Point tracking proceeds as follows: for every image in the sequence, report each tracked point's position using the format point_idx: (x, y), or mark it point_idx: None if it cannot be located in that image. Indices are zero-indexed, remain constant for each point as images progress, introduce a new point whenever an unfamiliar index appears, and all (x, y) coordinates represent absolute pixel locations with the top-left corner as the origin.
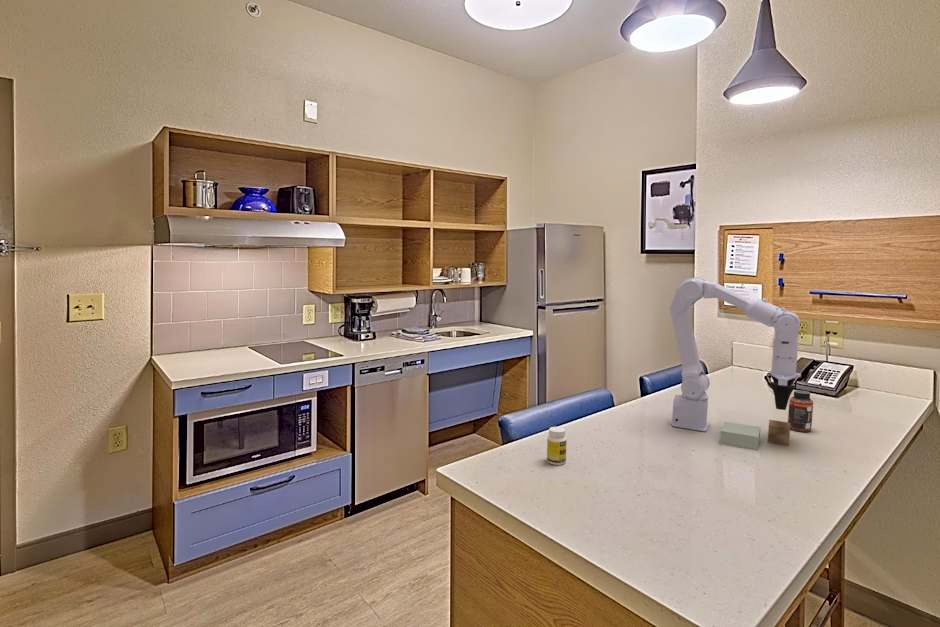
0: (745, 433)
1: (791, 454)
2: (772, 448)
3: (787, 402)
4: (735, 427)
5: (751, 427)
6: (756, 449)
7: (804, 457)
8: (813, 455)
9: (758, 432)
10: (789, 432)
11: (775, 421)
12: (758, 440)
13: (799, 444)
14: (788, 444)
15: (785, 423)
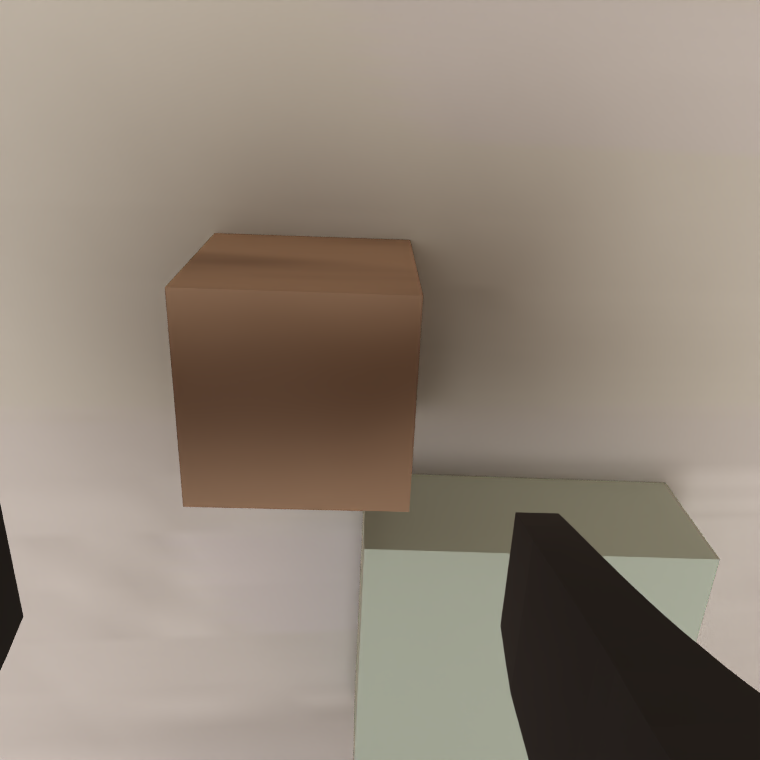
0: None
1: (668, 224)
2: (561, 376)
3: (647, 600)
4: (496, 723)
5: (429, 617)
6: (665, 493)
7: (714, 108)
8: (618, 10)
9: None
10: (417, 282)
11: (218, 448)
12: (621, 520)
13: (312, 135)
14: (410, 246)
15: (239, 344)
